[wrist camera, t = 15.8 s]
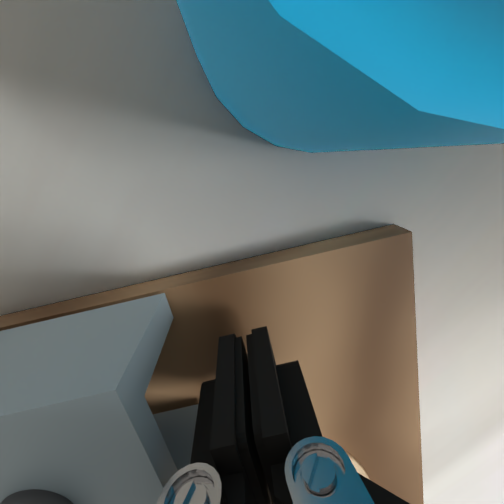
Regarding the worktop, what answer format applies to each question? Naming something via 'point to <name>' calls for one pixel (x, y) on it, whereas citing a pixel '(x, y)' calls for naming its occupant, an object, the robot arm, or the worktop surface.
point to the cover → (88, 409)
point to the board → (302, 339)
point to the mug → (355, 70)
